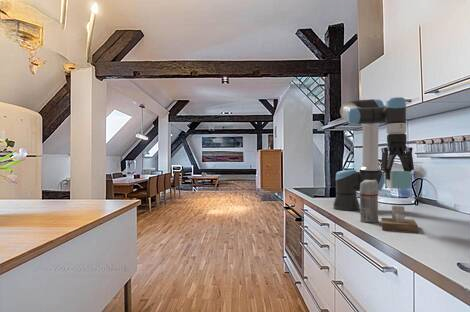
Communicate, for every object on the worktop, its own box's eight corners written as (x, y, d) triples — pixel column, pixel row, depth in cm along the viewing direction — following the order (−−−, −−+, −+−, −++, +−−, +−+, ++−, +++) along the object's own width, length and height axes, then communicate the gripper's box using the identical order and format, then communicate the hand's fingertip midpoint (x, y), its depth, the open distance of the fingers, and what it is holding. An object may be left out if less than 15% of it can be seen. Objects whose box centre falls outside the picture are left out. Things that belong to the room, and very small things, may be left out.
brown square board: (381, 224, 143) (381, 203, 143) (414, 226, 138) (413, 204, 138) (382, 230, 132) (381, 207, 132) (417, 232, 126) (417, 209, 126)
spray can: (380, 223, 145) (380, 180, 145) (362, 223, 147) (361, 180, 147) (376, 220, 153) (375, 179, 154) (358, 219, 155) (357, 179, 155)
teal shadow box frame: (385, 187, 138) (384, 171, 138) (399, 186, 139) (398, 170, 139) (396, 188, 131) (395, 171, 131) (410, 187, 132) (410, 171, 132)
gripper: (381, 132, 130) (382, 188, 129) (423, 133, 133) (424, 187, 133) (370, 134, 137) (371, 187, 137) (410, 134, 141) (411, 185, 140)
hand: (397, 187), depth 135 cm, fingers closed on teal shadow box frame, 7 cm apart
